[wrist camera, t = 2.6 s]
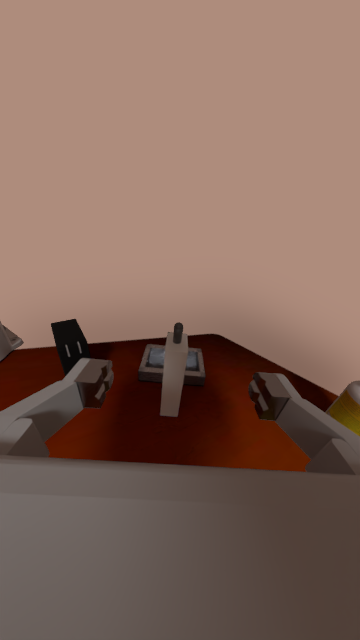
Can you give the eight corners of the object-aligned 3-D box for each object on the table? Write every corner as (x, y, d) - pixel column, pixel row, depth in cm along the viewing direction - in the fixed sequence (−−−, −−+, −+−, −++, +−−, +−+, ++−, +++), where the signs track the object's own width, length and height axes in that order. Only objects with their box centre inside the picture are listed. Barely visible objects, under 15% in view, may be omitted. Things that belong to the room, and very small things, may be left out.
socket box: (203, 386, 33) (205, 376, 32) (138, 381, 33) (138, 371, 32) (199, 357, 41) (200, 349, 40) (147, 352, 41) (147, 344, 40)
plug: (177, 416, 27) (191, 333, 19) (160, 415, 27) (166, 330, 19) (178, 393, 31) (189, 316, 23) (162, 392, 31) (169, 314, 23)
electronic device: (83, 354, 38) (75, 317, 34) (95, 382, 32) (87, 341, 27) (62, 361, 36) (50, 321, 31) (70, 393, 29) (56, 349, 24)
